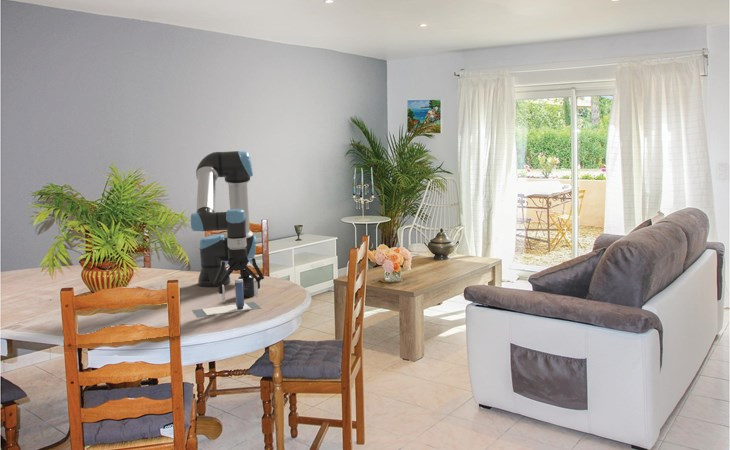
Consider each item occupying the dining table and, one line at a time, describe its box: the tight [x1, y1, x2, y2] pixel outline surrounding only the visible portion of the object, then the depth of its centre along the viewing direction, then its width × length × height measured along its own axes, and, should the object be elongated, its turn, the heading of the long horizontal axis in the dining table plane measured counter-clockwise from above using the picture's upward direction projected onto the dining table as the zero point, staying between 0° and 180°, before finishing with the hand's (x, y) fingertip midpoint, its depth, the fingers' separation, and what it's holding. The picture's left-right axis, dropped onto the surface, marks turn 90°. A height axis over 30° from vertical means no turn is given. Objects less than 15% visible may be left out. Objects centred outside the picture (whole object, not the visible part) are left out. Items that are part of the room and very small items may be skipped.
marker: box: [234, 278, 245, 309], centre depth 257 cm, size 3×3×12 cm
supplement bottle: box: [237, 269, 255, 299], centre depth 279 cm, size 7×7×12 cm
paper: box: [201, 302, 251, 316], centre depth 259 cm, size 10×18×1 cm, turn 115°
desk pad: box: [191, 301, 262, 319], centre depth 259 cm, size 12×26×1 cm, turn 115°
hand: (240, 298), depth 258 cm, fingers open, 13 cm apart
